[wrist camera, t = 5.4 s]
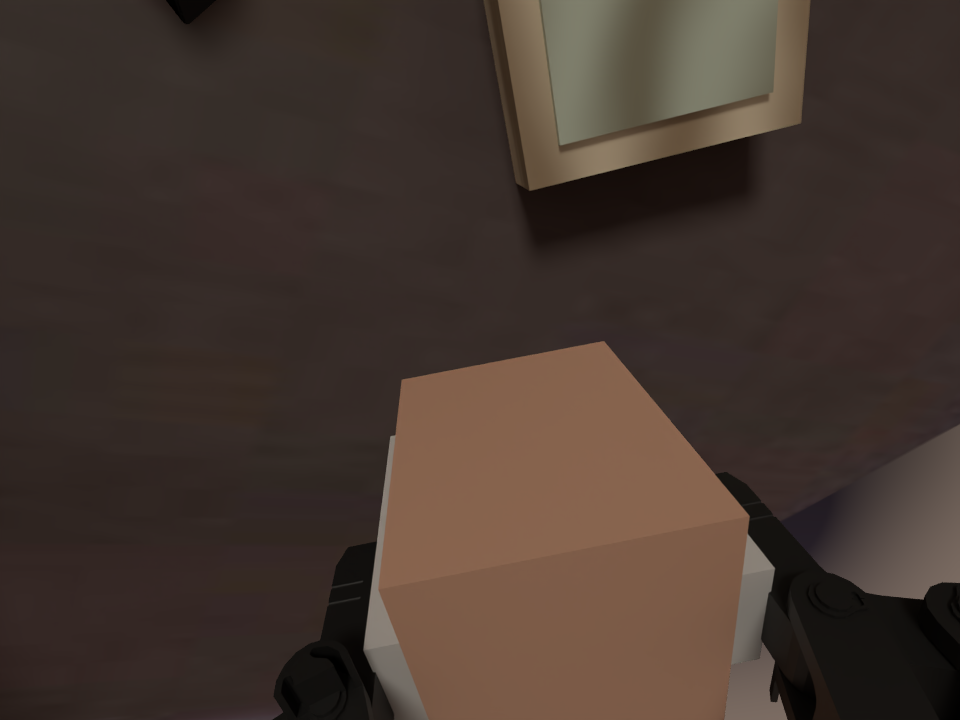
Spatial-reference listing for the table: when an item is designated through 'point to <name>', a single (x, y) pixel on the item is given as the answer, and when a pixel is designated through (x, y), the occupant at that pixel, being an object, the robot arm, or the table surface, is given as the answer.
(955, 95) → the table surface
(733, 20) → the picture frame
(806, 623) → the robot arm
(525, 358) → the terracotta block
